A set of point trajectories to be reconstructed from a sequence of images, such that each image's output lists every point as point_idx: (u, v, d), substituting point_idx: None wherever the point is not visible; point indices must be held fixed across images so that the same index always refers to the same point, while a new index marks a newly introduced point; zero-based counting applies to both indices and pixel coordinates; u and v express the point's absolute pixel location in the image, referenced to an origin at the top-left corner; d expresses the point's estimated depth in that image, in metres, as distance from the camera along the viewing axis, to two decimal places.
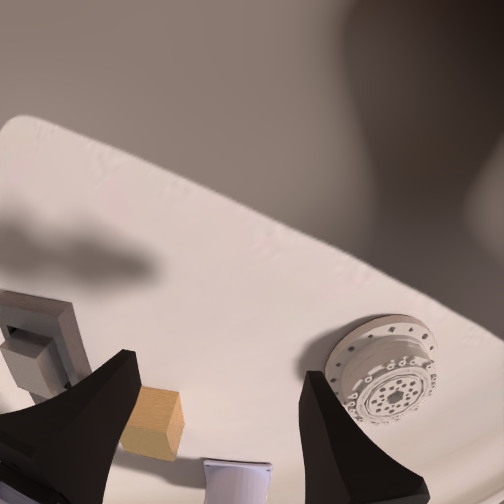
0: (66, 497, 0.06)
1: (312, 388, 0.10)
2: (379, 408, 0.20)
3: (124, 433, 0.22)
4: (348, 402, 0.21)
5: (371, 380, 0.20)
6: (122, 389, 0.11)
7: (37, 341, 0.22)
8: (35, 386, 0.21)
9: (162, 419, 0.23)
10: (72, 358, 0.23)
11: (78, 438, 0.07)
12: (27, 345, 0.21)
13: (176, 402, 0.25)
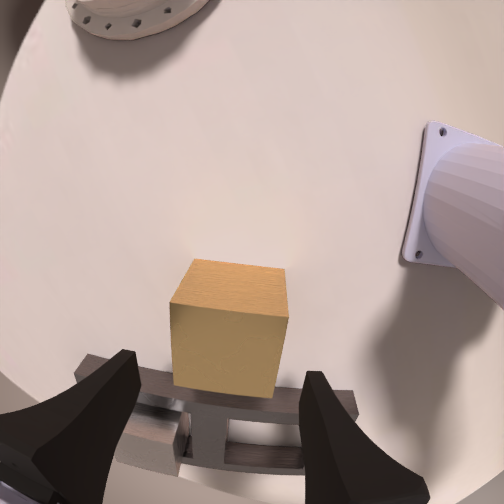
0: (66, 497, 0.06)
1: (312, 388, 0.10)
2: None
3: (203, 378, 0.14)
4: None
5: None
6: (122, 389, 0.11)
7: None
8: (156, 453, 0.17)
9: None
10: None
11: (78, 437, 0.07)
12: None
13: (194, 267, 0.16)
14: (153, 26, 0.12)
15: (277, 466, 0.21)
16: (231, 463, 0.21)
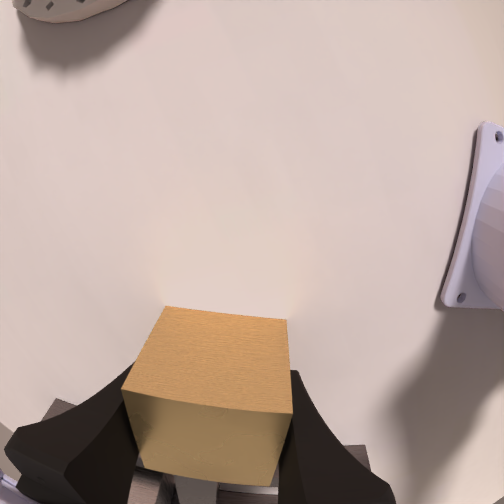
0: None
1: None
2: None
3: (180, 466, 0.09)
4: None
5: None
6: None
7: None
8: None
9: None
10: None
11: (106, 447, 0.07)
12: None
13: (162, 322, 0.12)
14: None
15: None
16: None
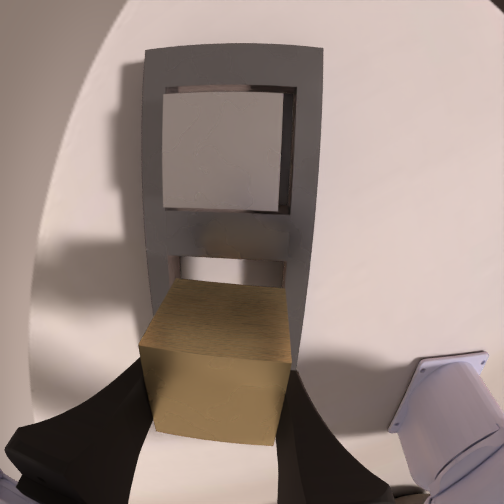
0: None
1: None
2: None
3: (189, 426, 0.11)
4: None
5: None
6: (146, 394, 0.11)
7: None
8: (237, 179, 0.13)
9: None
10: None
11: (106, 447, 0.07)
12: None
13: (173, 291, 0.13)
14: None
15: None
16: (168, 264, 0.17)
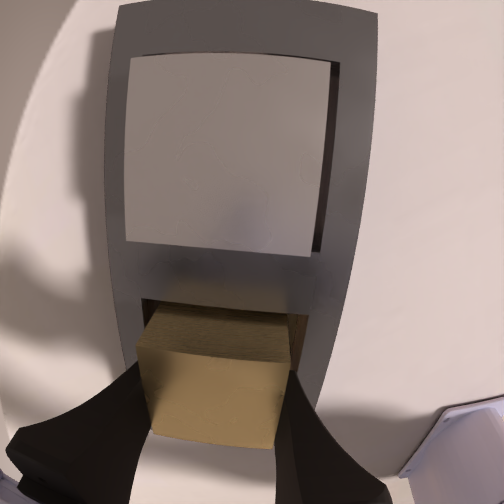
0: None
1: None
2: None
3: (187, 428, 0.11)
4: None
5: None
6: None
7: None
8: (247, 201, 0.08)
9: None
10: None
11: (107, 447, 0.07)
12: None
13: None
14: None
15: None
16: (143, 310, 0.12)
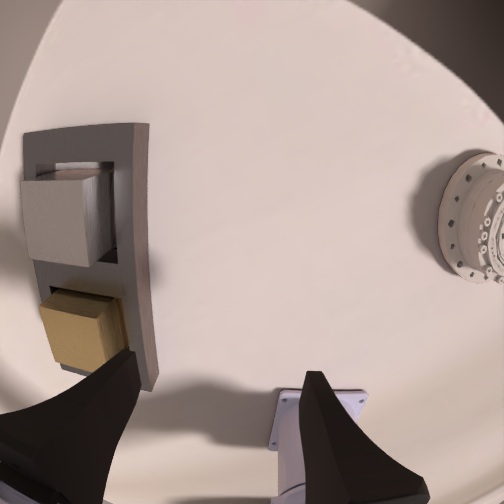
0: (66, 497, 0.06)
1: (312, 388, 0.10)
2: None
3: (67, 357, 0.19)
4: (481, 233, 0.15)
5: (501, 200, 0.14)
6: (122, 389, 0.11)
7: (83, 174, 0.17)
8: (63, 243, 0.16)
9: None
10: (134, 197, 0.18)
11: (78, 437, 0.07)
12: (67, 176, 0.16)
13: None
14: (444, 235, 0.19)
15: None
16: (51, 292, 0.20)
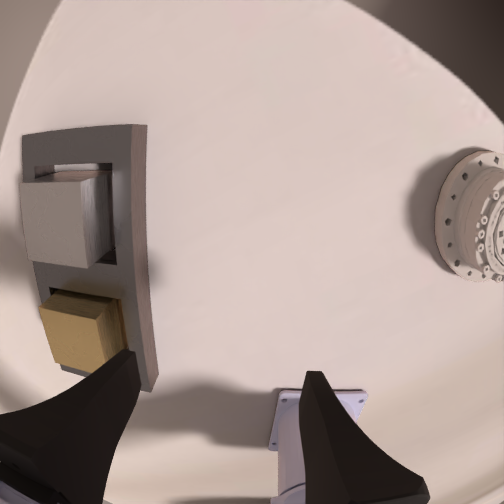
0: (66, 497, 0.06)
1: (312, 388, 0.10)
2: None
3: (67, 358, 0.19)
4: (478, 232, 0.15)
5: (498, 198, 0.14)
6: (122, 389, 0.11)
7: (81, 176, 0.17)
8: (62, 244, 0.16)
9: None
10: (132, 198, 0.18)
11: (78, 437, 0.07)
12: (65, 178, 0.16)
13: None
14: (441, 234, 0.19)
15: None
16: (50, 293, 0.20)
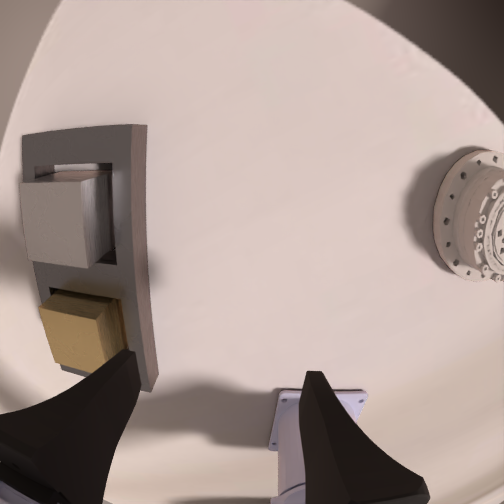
0: (66, 497, 0.06)
1: (312, 388, 0.10)
2: (503, 247, 0.15)
3: (67, 358, 0.19)
4: (476, 231, 0.15)
5: (497, 198, 0.14)
6: (122, 389, 0.11)
7: (81, 176, 0.17)
8: (62, 244, 0.16)
9: None
10: (132, 198, 0.18)
11: (78, 437, 0.07)
12: (65, 178, 0.16)
13: None
14: (439, 233, 0.19)
15: None
16: (50, 293, 0.20)
